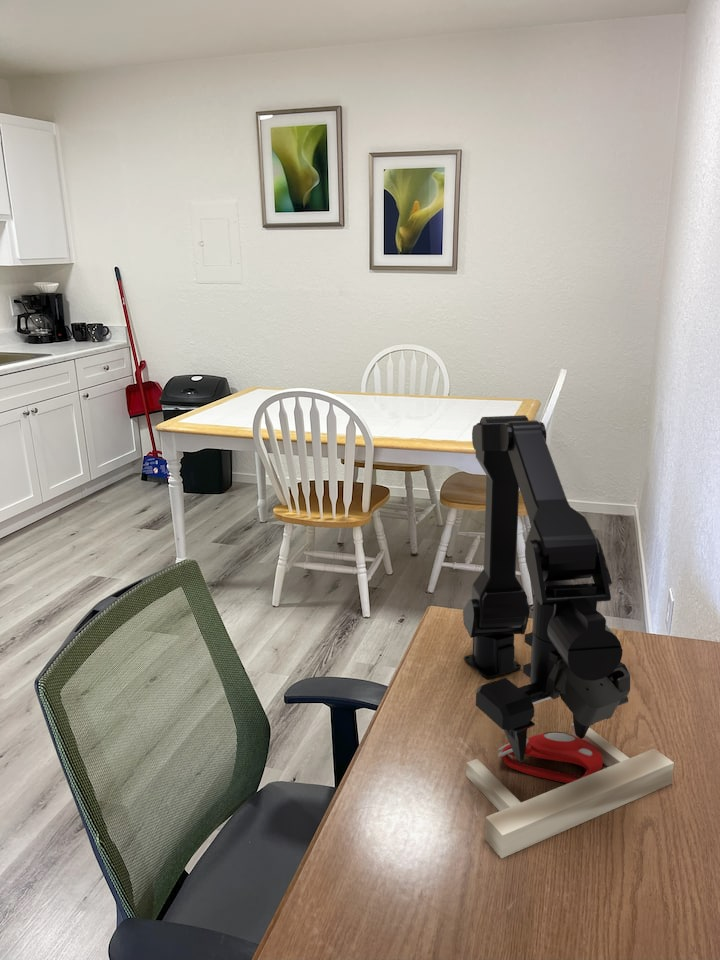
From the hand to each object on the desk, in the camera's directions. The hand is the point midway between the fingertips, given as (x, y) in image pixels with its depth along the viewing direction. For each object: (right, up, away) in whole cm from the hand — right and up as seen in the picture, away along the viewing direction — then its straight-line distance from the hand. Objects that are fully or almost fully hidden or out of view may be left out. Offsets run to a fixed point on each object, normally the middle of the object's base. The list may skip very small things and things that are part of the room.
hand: (550, 747), depth 89 cm
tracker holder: (+1, -3, +4) cm, 5 cm away
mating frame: (0, -4, -1) cm, 4 cm away
